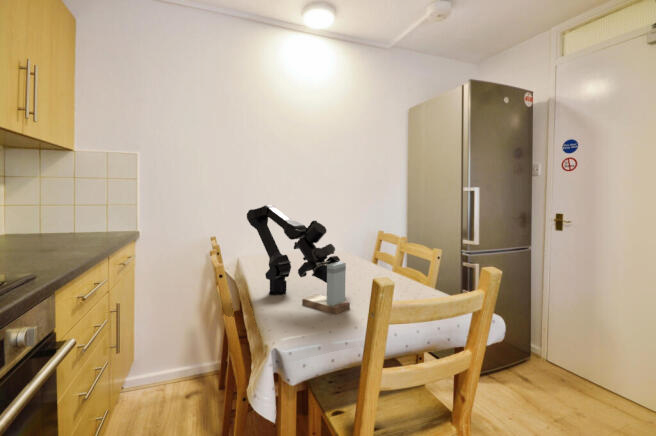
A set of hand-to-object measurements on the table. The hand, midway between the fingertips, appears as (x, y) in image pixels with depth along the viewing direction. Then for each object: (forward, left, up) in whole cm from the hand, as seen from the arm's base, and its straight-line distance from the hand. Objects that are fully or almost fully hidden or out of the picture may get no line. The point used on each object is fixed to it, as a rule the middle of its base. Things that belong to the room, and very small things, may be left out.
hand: (332, 284), depth 110 cm
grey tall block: (+1, -1, -6) cm, 6 cm away
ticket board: (-2, +2, -9) cm, 9 cm away
